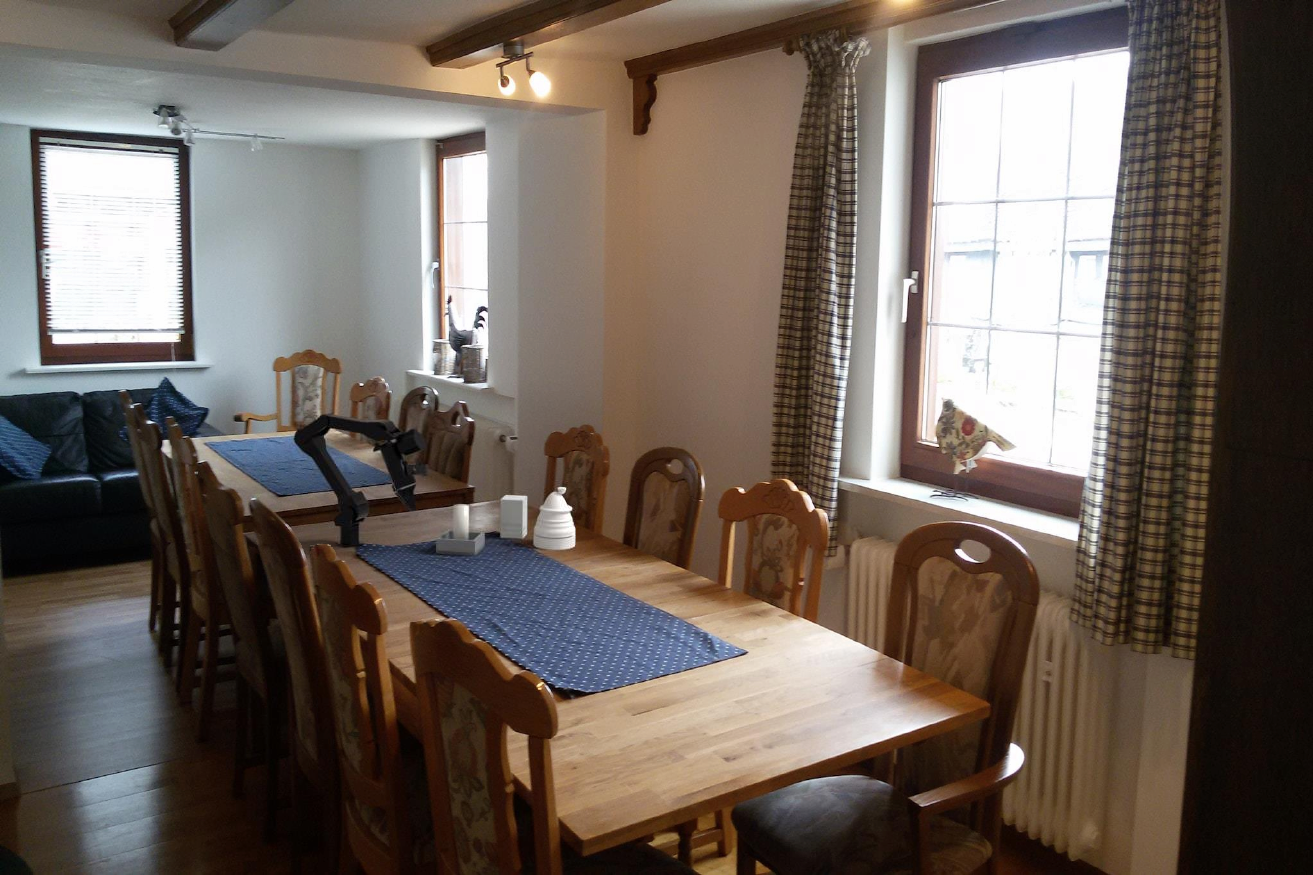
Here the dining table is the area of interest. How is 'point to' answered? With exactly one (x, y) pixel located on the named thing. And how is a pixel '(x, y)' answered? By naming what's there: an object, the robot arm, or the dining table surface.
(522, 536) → the supplement box
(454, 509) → the ceramic pillar
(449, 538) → the grey crate
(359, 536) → the robot arm
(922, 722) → the dining table surface
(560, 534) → the honey pot
